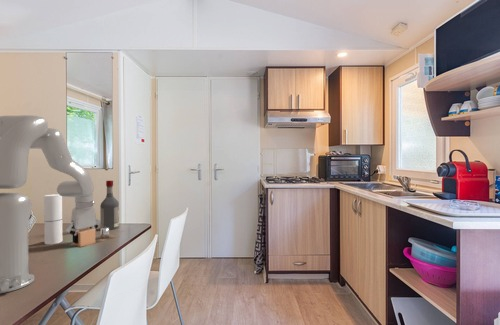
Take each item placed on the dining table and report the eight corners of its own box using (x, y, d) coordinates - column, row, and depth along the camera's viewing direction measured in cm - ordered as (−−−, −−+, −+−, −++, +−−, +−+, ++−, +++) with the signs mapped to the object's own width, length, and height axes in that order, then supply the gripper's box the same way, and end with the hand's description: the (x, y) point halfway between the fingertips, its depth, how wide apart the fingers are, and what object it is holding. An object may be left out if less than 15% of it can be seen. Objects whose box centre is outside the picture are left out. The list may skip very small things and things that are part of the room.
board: (108, 236, 143) (108, 233, 143) (119, 239, 139) (119, 236, 139) (68, 247, 126) (68, 244, 126) (80, 250, 121) (80, 247, 121)
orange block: (87, 240, 132) (87, 227, 132) (95, 242, 129) (95, 229, 129) (72, 244, 126) (72, 230, 126) (80, 246, 123) (80, 232, 123)
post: (110, 237, 137) (110, 228, 136) (101, 239, 134) (101, 229, 134) (107, 235, 139) (107, 226, 139) (99, 237, 137) (99, 228, 137)
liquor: (100, 233, 149) (99, 181, 149) (102, 229, 158) (102, 180, 157) (117, 231, 153) (117, 181, 152) (119, 227, 161) (118, 180, 161)
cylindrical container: (52, 247, 125) (52, 196, 125) (40, 246, 127) (40, 195, 126) (66, 243, 132) (65, 194, 132) (54, 242, 134) (54, 194, 133)
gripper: (97, 201, 137) (97, 235, 137) (60, 207, 121) (60, 244, 122) (105, 203, 133) (105, 237, 133) (68, 208, 118) (68, 247, 118)
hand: (84, 240), depth 127 cm, fingers closed on orange block, 7 cm apart
